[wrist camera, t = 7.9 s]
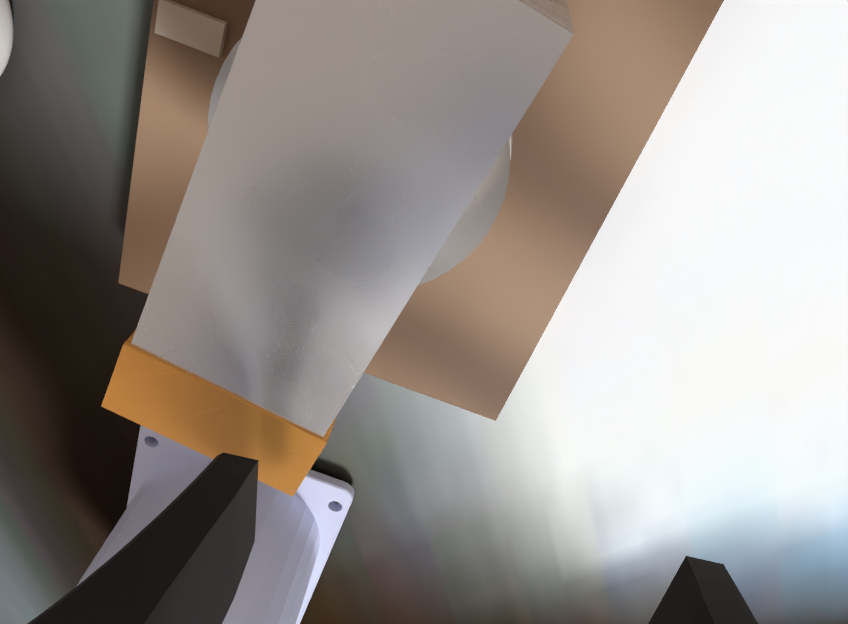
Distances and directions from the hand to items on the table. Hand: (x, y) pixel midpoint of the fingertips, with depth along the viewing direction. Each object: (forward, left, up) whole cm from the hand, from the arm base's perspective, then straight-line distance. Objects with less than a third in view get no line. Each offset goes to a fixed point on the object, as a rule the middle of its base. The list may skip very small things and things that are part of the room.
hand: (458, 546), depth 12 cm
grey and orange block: (+4, +4, -6) cm, 8 cm away
